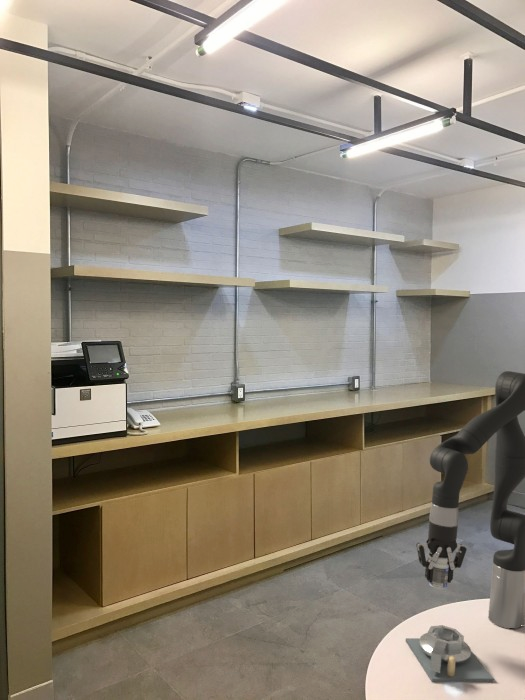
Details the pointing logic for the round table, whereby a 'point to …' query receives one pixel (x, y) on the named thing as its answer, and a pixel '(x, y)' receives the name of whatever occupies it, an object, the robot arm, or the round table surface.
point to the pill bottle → (440, 574)
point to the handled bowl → (444, 646)
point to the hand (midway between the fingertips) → (438, 580)
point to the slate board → (460, 668)
